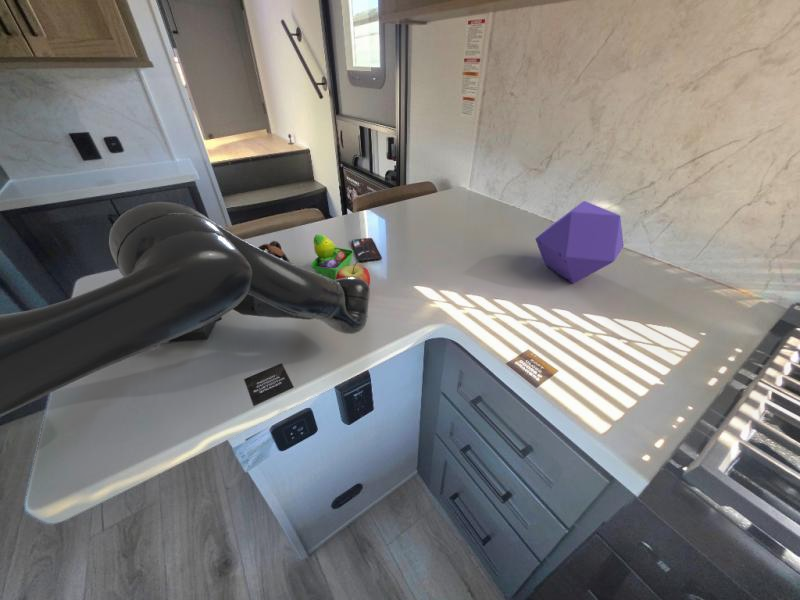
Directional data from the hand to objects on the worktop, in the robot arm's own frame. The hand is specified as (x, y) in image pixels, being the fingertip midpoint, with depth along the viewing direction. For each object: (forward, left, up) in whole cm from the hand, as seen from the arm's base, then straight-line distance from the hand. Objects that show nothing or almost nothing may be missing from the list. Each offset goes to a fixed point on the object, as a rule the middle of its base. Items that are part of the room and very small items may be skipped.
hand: (188, 290), depth 62 cm
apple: (+10, -32, -11) cm, 35 cm away
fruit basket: (+22, -26, -11) cm, 36 cm away
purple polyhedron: (+16, -94, -11) cm, 96 cm away
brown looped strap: (+27, -9, -11) cm, 31 cm away
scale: (+5, +7, -11) cm, 14 cm away
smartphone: (+35, -36, -11) cm, 51 cm away
